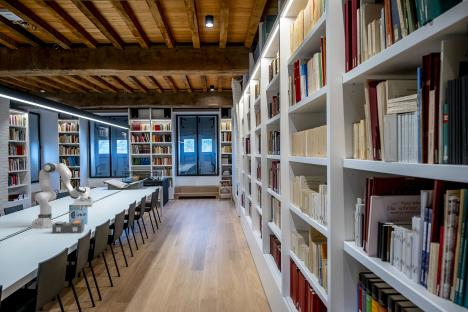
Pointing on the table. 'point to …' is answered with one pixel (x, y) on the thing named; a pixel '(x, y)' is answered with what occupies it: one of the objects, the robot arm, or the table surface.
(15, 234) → the table surface
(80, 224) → the switch block
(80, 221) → the rocker
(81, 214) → the gum box
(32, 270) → the table surface
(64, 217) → the table surface
